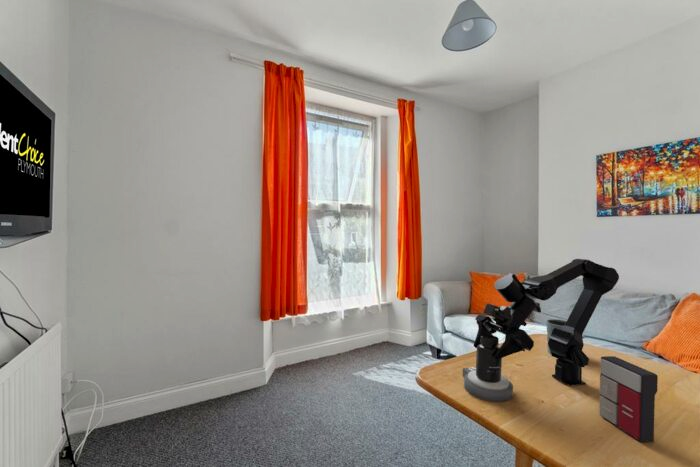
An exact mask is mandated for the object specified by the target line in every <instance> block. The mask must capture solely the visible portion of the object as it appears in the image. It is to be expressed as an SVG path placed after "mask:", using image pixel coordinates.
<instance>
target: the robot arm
mask: <svg viewBox="0 0 700 467" xmlns="http://www.w3.org/2000/svg"><path fill="white" fill-rule="evenodd" d="M579 277H582V280H581V281H582V284H583V289H582V291H581V293H580V295H579V297H578V299H577V301H576V302H575V304H574V307H573V309H572V310H571V312H570V314H569V316H568V317H567V320H566V321H567V322H566V323H565V325H564V327H562V328H560V329H559V328H556V327H555V328H554V329H553V331H552V333H551V335H550V336H549V337H548V338H549V341H547V344H548V345H549V349H550V352H551V354H550V356H551V357H553V358H555V361H556V362H555V364H554V368H555V369H554V374H552V375H551V377H552V378H554V379H556V380H557V381H559V382H561V383H562V384H564V385H566V386H580V385H583V386H584V385H585V386H586V385H587V382H585V381H583V380H582V379H583V378H582V373H583V368H585V366H587V367H588V365H589V361H590V358H589V357H588V356H587V354H586V353H585V352H584V351H583V348H584V345H585V344H584V340H583V334H584V331H585V329H586V327H587V326H588V324H589V322H590V320H591V317H593V316H592V315H594V312H595V310H596V308H597V306H598V304H599V302H600V301H601V298H602V296H603V295H605V294H608V292H611V291H612V290H613V289H614V287H615V286H616V284H617V283H618V282H619V279H620V276H619V273H618V271H617V270H616V268H613V267H608V266H605V265H602V264H599V263H596V262H594V261H593V260H590V259H585V258H584V259H583V258H574V259H572V260H571V262H569V263H567V264H565V265H563V266H561V267H559V268H557V269H555V270H553V271H551V272H549V273H547V274H544V275H537V276H533V277H529V278H526V279H525V280H524V281H523V282H521V281H520V279H518V277H517V275H515V274H514V273H511V272H510V273H507V275H505V276H501V277H500V278H498V279H497V280H496V281H495V282H494V284H493V286H494V288H495V290H496V291H497V292H498V293H499V295H501V297H502V298H503V299H504V300H505V301H506V302H507V303H510V304H509V305H508V306H506V305H501V306H497V305H495V304H492V303H489V302H486V305H485V307H484V310H483V312H482V313H483V314H482V313H479V314H478V315H477V316H476V317H475V318H474V320H475V321H476V324H477V327H478V330H477V334H476V336H475V340H474V343H473V347H474V348H475V349H477V346H478V345H479V344H481V342H480V340H481V335H494V334H496V333H497V332H498V333H500V334H503V335H505V336H504V341H503V343H502V344H501V345H500V347H499V350H498V351H497V353H496V354H495V356H494V358H495V359H496V360H498V359H501V358H502V359H503V358H505V357H507V356H510V355H513V354H517V353H520V352H525V351H529V352H531V350H533V348H534V346H535V345H534V344H535V341H534V339H532V337H531V336H530V335H529V334H528V333H527V332H526V330H525V329H521V327H522V326H523V327H526V326H527V325H528V323H527V322H526V321H527V319H528V318H529V316H531V314H532V313H533V312H536V313H539V314H540V313H542V308H541V304H540V303H539V302H536V301H535V300H538V301H539V300H540V301H543V302H544V301H549V299H550V298H552V297H553V296H554V295H556V294H557V290H558V289H559V288H560V287H562V286H564V285H566V284H568V283H570V282H571V281H573V280H575V279H577V278H579ZM534 299H535V300H534Z"/></svg>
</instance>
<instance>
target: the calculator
mask: <svg viewBox="0 0 700 467" xmlns="http://www.w3.org/2000/svg"><path fill="white" fill-rule="evenodd" d="M658 379H659V378H658V375H657V374H656V373H655V372H652V371H650V370H647V369H645V368H642V367H640V366H638V365H636V364H633V363H631V362H628V361H627V360H624V359H622V358H619V357H617V356H614V355H611V356H610V355H609V356H607V355H606V356H600V375H599V401H598V403H599V404H598V407H599V408H598V411H599V412H598V414H599V415H600V416H601V417H602V418H604V419H605V420H607V421H608V422H610V423H611V424H613V425H614V426H616V427H617V428H619V429H620V430H622V431H624V432H625V433H627V434H628V435H630V436H631V437H632V438H634V439H635V440H637V441H639V442H640V443H649V442H651V443H652V442H654V439H655V403H656V402H655V400H656V398H655V396H656V394H657V393H658Z"/></svg>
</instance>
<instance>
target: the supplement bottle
mask: <svg viewBox="0 0 700 467" xmlns="http://www.w3.org/2000/svg"><path fill="white" fill-rule="evenodd" d="M480 342H481V344H479V345H478V346H477V348H476V352H475V353H476V355H475V357H476V358H475V367H476V376H477V377H478V378H479V379H480V380H482V381H485V382H489V383H497V382H499V381H500V380H501V375H502V367H503V366H502V364H503V358H501V359H498V360H496V359H495V358H494V356H495V354H496V353H497V351H498V350H499V348H500V347H499V343H500V342H499V337H498V336H495V335H494V334H492V335H481V340H480Z"/></svg>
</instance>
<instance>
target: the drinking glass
mask: <svg viewBox="0 0 700 467" xmlns="http://www.w3.org/2000/svg"><path fill="white" fill-rule="evenodd" d="M545 322H546V332H547V333H546V339H547V340H546V341H547V342H548V341H549V338H548V337H549V336H550V335H551V333H552V331H553V329H554V328H555V327H556V328H559V329H560V328H562V327H564V325H565V323H566V322H567V320H563V319H555V318H554V319H553V318H551V319H550V318H549V319H546V320H545ZM547 352H548V354H550V355H551V352H550V349H549V345H548V343H547Z"/></svg>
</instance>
